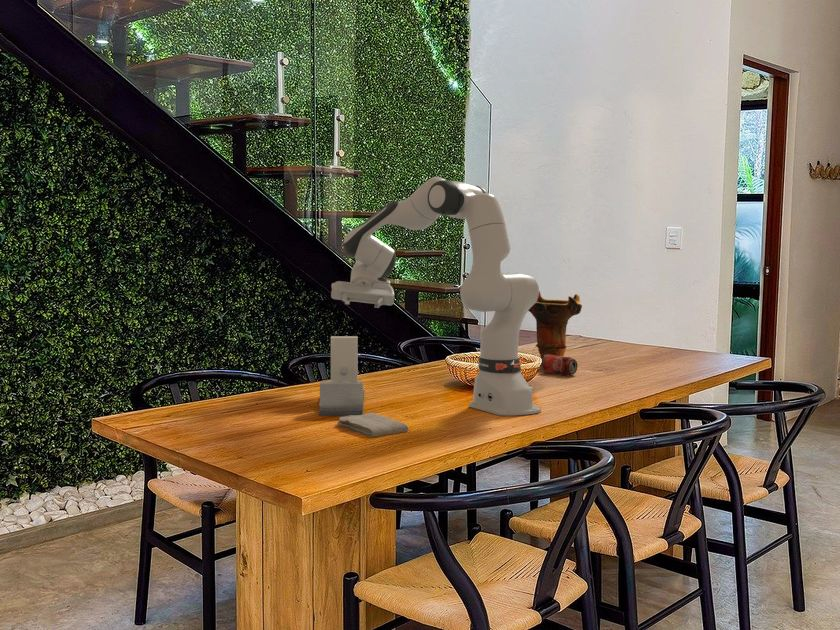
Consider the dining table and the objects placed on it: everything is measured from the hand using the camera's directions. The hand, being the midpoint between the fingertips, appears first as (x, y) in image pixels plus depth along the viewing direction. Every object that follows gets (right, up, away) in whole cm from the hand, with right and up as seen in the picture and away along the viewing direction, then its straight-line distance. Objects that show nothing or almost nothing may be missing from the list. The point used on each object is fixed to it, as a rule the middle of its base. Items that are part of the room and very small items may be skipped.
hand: (362, 304), depth 280 cm
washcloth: (+6, -34, -48) cm, 59 cm away
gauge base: (-4, -30, -18) cm, 35 cm away
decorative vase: (+70, -22, +71) cm, 102 cm away
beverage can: (+68, -25, +39) cm, 83 cm away
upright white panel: (-6, -27, -10) cm, 30 cm away
